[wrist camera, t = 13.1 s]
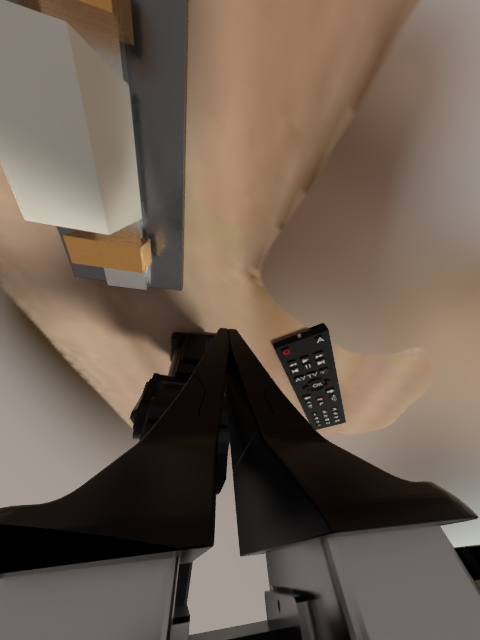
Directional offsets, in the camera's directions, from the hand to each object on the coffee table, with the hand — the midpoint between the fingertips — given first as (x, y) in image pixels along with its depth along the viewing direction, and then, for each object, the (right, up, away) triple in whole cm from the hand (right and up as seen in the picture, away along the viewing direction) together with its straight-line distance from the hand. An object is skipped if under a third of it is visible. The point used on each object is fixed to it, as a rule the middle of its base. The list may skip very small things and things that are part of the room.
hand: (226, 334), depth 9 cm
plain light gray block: (-8, +12, +3) cm, 15 cm away
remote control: (+15, -12, +27) cm, 33 cm away
